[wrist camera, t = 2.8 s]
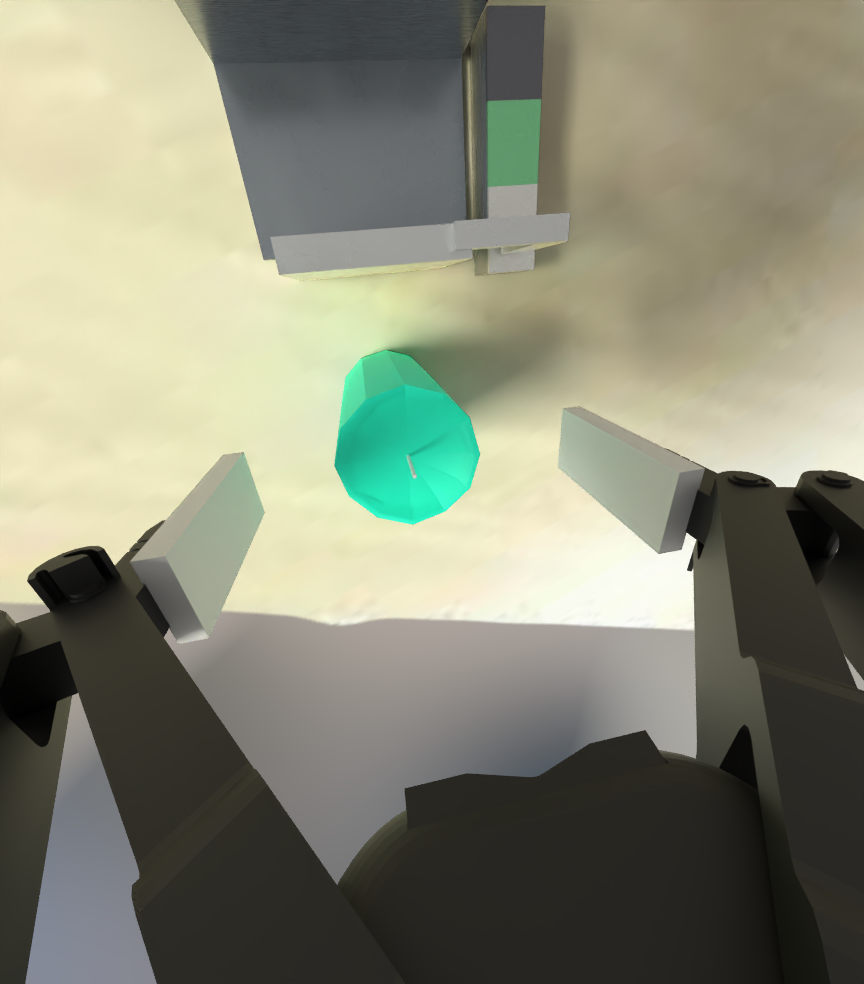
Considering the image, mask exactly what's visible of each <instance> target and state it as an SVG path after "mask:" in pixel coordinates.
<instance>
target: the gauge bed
mask: <svg viewBox="0 0 864 984" xmlns="http://www.w3.org/2000/svg"><path fill="white" fill-rule="evenodd" d="M487 1H488V0H175V2H176V3H177V5H178V7H179V8H180V10H181V11H182V13H183V15H184V16H185V18H186V20H187V21H188V23H189V25H190V26H191V28H192V29H193V31H194V33H195V34H196V36H197V38H198V39H199V41H200V42H201V44H202V46H203V47H204V49H205V51H206V52H207V54H208V56H209V57H210V59H211V60H212V62H213V64H214V67H215V71H216V75H217V79H218V83H219V87H220V91H221V95H222V99H223V102H224V106H225V110H226V114H227V118H228V122H229V126H230V130H231V134H232V138H233V142H234V146H235V149H236V153H237V157H238V161H239V165H240V169H241V173H242V177H243V181H244V185H245V189H246V192H247V196H248V200H249V204H250V208H251V212H252V216H253V220H254V224H255V228H256V232H257V236H258V239H259V243H260V247H261V251H262V255H263V259H264V260H276V259H275V255H274V251H273V247H272V243H271V238H270V237H276V236H290V235H303V234H316V233H330V232H343V231H357V230H370V229H384V228H397V227H410V226H424V225H437V224H451V223H453V222H454V221H461V220H467V217H466V185H465V153H464V121H463V89H462V57H463V54H464V52H465V50H466V48H467V45H468V43H469V41H470V39H471V37H472V34H473V32H474V30H475V28H476V25H477V23H478V21H479V19H480V16H481V14H482V12H483V10H484V8H485V5H486V3H487ZM544 20H545V6H487V7H486V9H485V11H484V13H483V16H482V18H481V20H480V22H479V25H478V27H477V29H476V31H475V33H474V36H473V38H472V40H471V42H470V74H471V116H472V159H473V201H474V220H475V219H488V218H502V217H515V216H529V215H536V211H537V187H538V163H539V139H540V115H541V91H542V68H543V44H544ZM534 259H535V250H532V251H528V252H520V253H508V254H501V248H489V249H477V250H475V276H479V275H490V274H501V273H511V272H520V271H527V270H534Z"/></svg>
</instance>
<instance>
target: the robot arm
mask: <svg viewBox="0 0 864 984" xmlns="http://www.w3.org/2000/svg"><path fill="white" fill-rule="evenodd" d="M558 468H559V469H560V470H562V471H563V472H564V473H565V474H566V475H567V476H569V477H570V478H571V479H572V480H573V481H574V482H576V483H577V484H578V485H579V486H580V487H581V488H582V489H584V490H585V491H586V492H587V493H588V494H589V495H591V496H592V497H593V498H594V499H595V500H596V501H598V502H599V503H600V504H601V505H602V506H603V507H605V508H606V509H607V510H608V511H609V512H610V513H612V514H613V515H614V516H615V517H616V518H617V519H619V520H620V521H621V522H622V523H623V524H624V525H626V526H627V527H628V528H629V529H630V530H631V531H633V532H634V533H635V534H636V535H637V536H638V537H640V538H641V539H642V540H643V541H644V542H645V543H647V544H648V545H649V546H650V547H651V548H652V549H654V550H655V551H656V552H657V553H658V554H661V553H666V552H672V551H677V550H681V549H682V546H683V543H684V539H685V536H686V532H687V533H688V534H690V535H691V536H692V537H694V538H695V539H697V540H696V543H695V546H694V549H693V553H692V556H691V559H690V562H689V565H688V569H687V571H692V569H694V618H695V668H696V715H697V755H696V759H695V758H692V757H689V756H685V755H682V754H677V753H671V752H667V751H661V750H658V749H657V747H656V746H655V744H654V743H653V741H652V740H651V738H650V737H649V735H648V734H647V732H646V731H645V730H644V731H640V732H636V733H632V734H628V735H623V736H620V737H615V738H611V739H607V740H603V741H599V742H595V743H590V744H588V745H587V746H585V747H584V748H582V749H581V750H579V751H577V752H576V753H575V754H573V755H571V756H570V757H568V758H567V759H565V760H563V761H562V762H560V763H559V764H557V765H556V766H554V767H553V768H551V769H549V770H548V771H546V772H545V773H543V774H541V775H540V776H537V777H516V776H499V775H483V774H463V775H459V776H455V777H451V778H447V779H442V780H438V781H434V782H430V783H426V784H421V785H418V786H414V787H409V788H405V797H406V798H405V799H406V810H405V811H404V812H402V813H400V814H399V815H397V816H396V817H394V818H393V819H391V820H390V821H389V822H388V823H387V824H385V825H384V826H383V827H382V828H380V829H379V830H378V831H377V832H376V833H375V834H374V835H373V836H372V838H371V839H369V840H368V842H367V843H366V844H365V845H364V846H363V847H362V849H361V850H360V851H359V853H358V854H357V855H356V856H355V858H354V859H353V860H352V862H351V863H350V865H349V867H348V868H347V870H346V871H345V873H344V875H343V876H342V878H341V879H340V881H339V883H338V885H337V884H336V883H335V882H334V880H333V879H332V877H331V876H330V874H329V873H328V872H327V870H326V869H325V867H324V866H323V864H322V863H321V861H320V860H319V859H318V857H317V856H316V854H315V853H314V851H313V850H312V849H311V847H310V846H309V844H308V843H307V841H306V840H305V839H304V837H303V836H302V834H301V833H300V832H299V830H298V828H297V827H296V825H295V824H294V823H293V821H292V820H291V818H290V817H289V816H288V814H287V812H286V811H285V810H284V809H283V807H282V805H281V804H280V802H279V801H278V800H277V798H276V797H275V795H274V794H273V792H272V791H271V790H270V788H269V787H268V785H267V784H266V782H265V781H264V779H263V778H262V777H261V775H260V774H259V773H258V771H257V770H256V769H254V768H253V767H252V765H251V764H250V762H249V761H248V760H247V758H246V757H245V755H244V754H243V752H242V751H241V750H240V748H239V747H238V745H237V744H236V742H235V741H234V739H233V738H232V736H231V735H230V733H229V732H228V731H227V729H226V728H225V726H224V725H223V723H222V722H221V720H220V719H219V717H218V716H217V715H216V713H215V712H214V710H213V709H212V707H211V706H210V704H209V703H208V701H207V700H206V699H205V697H204V696H203V694H202V693H201V691H200V690H199V688H198V687H197V686H196V684H195V683H194V681H193V680H192V678H191V677H190V676H189V674H188V672H187V671H186V670H185V668H184V667H183V665H182V664H181V663H180V661H179V660H178V658H177V657H176V655H175V654H174V652H173V651H172V649H171V648H170V646H169V645H168V643H167V642H166V641H165V639H164V636H165V634H166V633H167V631H168V629H169V628H170V630H171V632H172V633H173V635H174V637H175V639H176V640H177V642H178V643H185V642H191V641H195V640H201V639H206V638H209V637H210V634H211V632H212V629H213V628H214V625H215V623H216V621H217V619H218V616H219V614H220V612H221V610H222V607H223V605H224V603H225V601H226V598H227V596H228V594H229V592H230V589H231V587H232V585H233V583H234V580H235V578H236V576H237V574H238V571H239V569H240V567H241V565H242V562H243V560H244V558H245V556H246V554H247V551H248V549H249V547H250V545H251V542H252V540H253V538H254V536H255V533H256V531H257V529H258V527H259V524H260V522H261V520H262V518H263V515H264V513H265V512H264V509H263V506H262V503H261V501H260V498H259V495H258V492H257V489H256V486H255V483H254V481H253V478H252V475H251V472H250V469H249V466H248V463H247V461H246V458H245V455H244V452H241V453H234V454H227V455H223V456H222V457H221V458H220V459H219V460H218V461H217V462H216V464H215V465H214V466H213V467H212V468H211V469H210V470H209V472H208V473H207V474H206V475H205V476H204V477H203V478H202V480H201V481H200V482H199V483H198V484H197V485H196V486H195V488H194V489H193V490H192V491H191V492H190V493H189V494H188V496H187V497H186V498H185V499H184V500H183V501H182V502H181V504H180V505H179V506H178V507H177V508H176V509H175V511H174V512H173V513H172V514H171V515H170V516H169V517H168V519H167V520H164V521H161V522H160V523H158V524H157V525H155V526H153V527H152V528H150V529H149V530H147V531H146V532H145V533H144V535H143V536H142V537H141V538H140V539H139V540H138V541H137V542H138V543H135V544H134V545H133V547H132V548H131V549H130V552H127V553H126V554H125V555H124V556H123V557H122V559H121V560H120V561H119V562H118V563H117V564H116V565H115V566H114V564H113V562H112V561H111V559H110V558H109V556H108V554H107V553H106V551H105V550H104V549H103V548H101V547H99V546H88V547H83V548H78V549H75V550H72V551H69V552H66V553H63V554H61V555H59V556H56V557H54V558H52V559H50V560H48V561H46V562H45V563H43V564H42V565H40V566H39V567H37V568H36V569H35V570H34V571H33V572H32V573H31V574H30V575H29V577H28V580H27V581H28V583H29V584H30V585H31V587H32V588H33V589H34V590H35V592H36V593H37V594H38V595H39V597H40V598H41V599H42V601H43V602H44V603H45V604H46V606H47V607H48V608H49V609H50V612H49V613H46V614H43V615H40V616H38V617H34V618H31V619H28V620H25V621H22V622H19V623H15V622H14V621H13V620H12V619H11V617H9V615H8V614H7V613H6V612H4V611H1V610H0V984H25V981H26V975H27V968H28V962H29V956H30V950H31V944H32V938H33V932H34V926H35V919H36V913H37V907H38V901H39V895H40V888H41V883H42V876H43V870H44V864H45V858H46V852H47V845H48V840H49V833H50V827H51V821H52V815H53V809H54V802H55V797H56V790H57V784H58V778H59V772H60V766H61V760H62V753H63V748H64V741H65V735H66V729H67V723H68V716H69V711H70V705H71V698H72V695H74V694H77V693H79V696H80V699H81V702H82V705H83V708H84V711H85V714H86V717H87V719H88V722H89V725H90V728H91V731H92V734H93V737H94V740H95V743H96V746H97V749H98V751H99V754H100V757H101V760H102V763H103V766H104V769H105V772H106V775H107V778H108V780H109V784H110V786H111V789H112V792H113V795H114V798H115V801H116V804H117V807H118V810H119V813H120V816H121V819H122V821H123V824H124V827H125V830H126V833H127V836H128V839H129V842H130V845H131V848H132V850H133V853H134V856H135V859H136V862H137V865H138V869H139V873H140V874H139V879H138V880H137V881H136V882H135V883H134V884H133V885H132V901H133V905H134V910H135V914H136V918H137V921H138V924H139V927H140V930H141V934H142V937H143V940H144V943H145V946H146V950H147V953H148V956H149V960H150V963H151V966H152V969H153V972H154V976H155V979H156V982H157V984H864V691H862V690H859V689H858V688H857V686H856V684H855V681H854V679H853V676H852V674H851V672H850V669H849V667H848V664H847V662H846V659H845V656H846V657H847V659H848V660H849V661H850V663H851V664H852V665H853V667H854V668H855V669H856V671H857V672H858V673H859V674H860V676H861V677H862V679H863V680H864V481H862V480H860V479H858V478H855V477H852V476H849V475H848V474H846V473H842V472H838V471H831V470H829V471H807V472H804V473H803V474H802V475H801V477H800V479H799V481H798V484H797V486H796V487H776V485H775V484H774V483H773V482H772V481H771V480H769V479H768V478H765V477H763V476H760V475H756V474H753V473H749V472H742V471H726V472H721V473H719V474H717V473H715V472H713V471H711V470H709V469H707V468H705V467H703V466H701V465H699V464H697V463H695V462H693V461H690V460H689V459H687V458H685V457H683V456H680V455H679V454H677V453H675V452H673V451H671V450H669V449H665V448H663V447H661V446H659V445H657V444H655V443H653V442H651V441H649V440H647V439H645V438H643V437H641V436H638V435H636V434H634V433H632V432H630V431H628V430H626V429H624V428H622V427H620V426H618V425H616V424H614V423H612V422H610V421H608V420H606V419H604V418H602V417H600V416H598V415H596V414H594V413H592V412H590V411H588V410H586V409H584V408H582V407H580V406H579V407H572V408H564V409H563V413H562V425H561V437H560V448H559V460H558ZM837 549H838V550H837ZM836 551H837V552H836ZM843 653H844V654H843ZM844 655H845V656H844Z"/></svg>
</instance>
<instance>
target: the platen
mask: <svg viewBox="0 0 864 984" xmlns="http://www.w3.org/2000/svg"><path fill="white" fill-rule="evenodd" d="M569 221H570V213H556V214H543V215H529V216H515V217H502V218H488V219H475V220H461V221H454V222H453V223H451V224H437V225H424V226H410V227H397V228H384V229H370V230H357V231H343V232H330V233H316V234H303V235H290V236H276V237H270V238H271V243H272V247H273V251H274V255H275V259H276V263H277V267H278V271H279V275H282V276H285V277H289V278H293V279H296V280H300V281H307V280H318V279H329V278H341V277H352V276H363V275H375V274H386V273H397V272H408V271H420V270H431V269H440V268H443V267H447V266H450V265H453V264H456V263H459V262H462V261H465V260H468V259H472V258H473V256H472V250H477V249H489V248H501V254H508V253H520V252H528V251H532V250H536V249H540V248H544V247H548V246H552V245H556V244H560V243H564V242H568V234H569Z"/></svg>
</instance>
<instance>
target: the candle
mask: <svg viewBox="0 0 864 984" xmlns="http://www.w3.org/2000/svg"><path fill="white" fill-rule="evenodd" d="M479 456H480V452H479V449H478V445H477V442H476V438H475V434H474V431H473V427H472V424H471V420H470V417H469V416H468V415H467V414H466V413H465V412H464V411H463V410H462V409H461V408H460V407H459V406H458V405H457V404H456V403H455V402H454V400H453V399H452V398H451V397H450V396H449V395H448V394H447V393H446V392H445V391H444V390H443V389H442V388H441V387H440V386H439V384H438V383H437V382H436V381H435V380H434V379H433V378H432V377H431V376H430V375H429V374H428V373H427V372H426V371H425V370H424V369H423V368H422V367H421V366H420V365H419V364H418V363H417V362H416V361H415V360H414V359H413V358H412V357H411V356H409V355H405V354H400V353H396V352H392V351H388V350H384V351H381V352H378V353H375V354H372V355H369V356H366V357H363V358H361V359H360V360H359V362H358V363H357V364H356V365H355V367H354V368H353V369H352V370H351V371H350V373H349V374H348V375H347V376H346V378H345V385H344V392H343V399H342V407H341V415H340V424H339V432H338V440H337V448H336V456H335V465H334V466H335V468H336V470H337V472H338V474H339V476H340V478H341V480H342V483H343V485H344V487H345V489H346V491H347V493H348V495H349V496H350V497H351V498H352V499H354V500H355V501H356V502H358V503H359V504H360V505H362V506H363V507H364V508H366V509H367V510H368V511H370V512H371V513H372V514H374V515H375V516H376V517H378V518H383V519H388V520H393V521H398V522H403V523H408V524H416V523H418V522H420V521H423V520H425V519H428V518H430V517H433V516H435V515H437V514H440V513H442V512H445V511H446V510H447V509H448V508H449V507H450V506H451V505H452V504H454V503H455V502H456V501H457V500H458V499H459V498H460V497H461V496H462V495H463V494H464V493H465V492H466V491H467V490H468V489H469V488H470V487H471V483H472V480H473V477H474V473H475V470H476V466H477V463H478V460H479Z"/></svg>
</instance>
